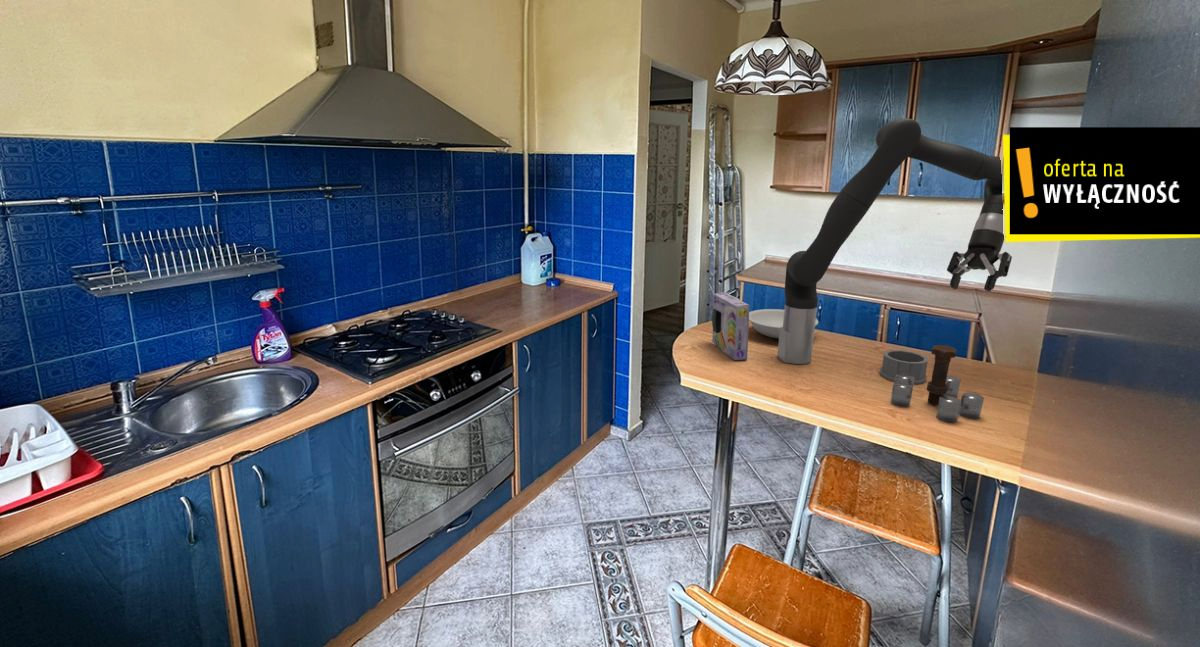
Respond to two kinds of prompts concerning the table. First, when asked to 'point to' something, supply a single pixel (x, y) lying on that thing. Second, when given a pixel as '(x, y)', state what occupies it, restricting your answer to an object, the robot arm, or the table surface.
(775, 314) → the soup bowl
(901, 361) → the round gray container
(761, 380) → the table surface
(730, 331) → the cake pan box
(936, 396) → the bolt
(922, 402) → the table surface
